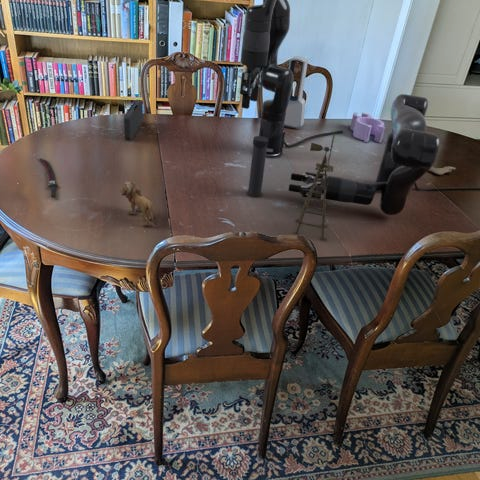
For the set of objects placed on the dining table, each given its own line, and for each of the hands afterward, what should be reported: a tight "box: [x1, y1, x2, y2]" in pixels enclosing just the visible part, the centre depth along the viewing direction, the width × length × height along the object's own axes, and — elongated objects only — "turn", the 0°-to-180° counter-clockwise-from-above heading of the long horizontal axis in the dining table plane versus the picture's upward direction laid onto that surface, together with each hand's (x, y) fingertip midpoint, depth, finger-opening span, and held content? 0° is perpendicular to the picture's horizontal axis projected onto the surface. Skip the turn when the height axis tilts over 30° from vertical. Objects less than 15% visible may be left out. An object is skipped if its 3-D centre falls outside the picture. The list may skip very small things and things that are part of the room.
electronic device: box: [284, 55, 309, 130], centre depth 208 cm, size 12×8×30 cm, turn 71°
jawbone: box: [427, 166, 457, 176], centre depth 188 cm, size 9×20×2 cm, turn 50°
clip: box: [349, 112, 386, 143], centre depth 214 cm, size 20×12×7 cm, turn 11°
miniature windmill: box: [294, 133, 335, 240], centre depth 130 cm, size 9×8×30 cm
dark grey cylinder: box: [247, 144, 267, 198], centre depth 150 cm, size 4×4×19 cm
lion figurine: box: [119, 181, 159, 227], centre depth 134 cm, size 15×5×9 cm, turn 50°
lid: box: [252, 135, 268, 147], centre depth 145 cm, size 5×5×2 cm
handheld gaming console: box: [123, 99, 144, 141], centre depth 190 cm, size 23×3×10 cm, turn 178°
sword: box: [40, 158, 59, 198], centre depth 151 cm, size 31×3×1 cm, turn 26°
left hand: (249, 104), depth 140 cm, fingers open, 8 cm apart
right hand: (289, 181), depth 150 cm, fingers open, 8 cm apart
